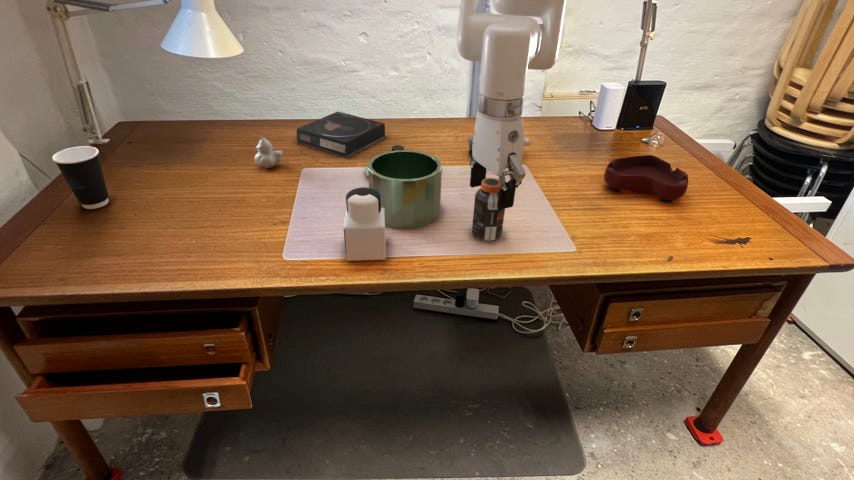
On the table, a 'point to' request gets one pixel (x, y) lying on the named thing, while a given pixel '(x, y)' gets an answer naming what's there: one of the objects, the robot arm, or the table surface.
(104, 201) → the dixie cup
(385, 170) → the tin
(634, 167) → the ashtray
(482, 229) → the pill bottle
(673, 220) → the table surface
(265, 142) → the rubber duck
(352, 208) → the medicine bottle
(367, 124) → the portable cd player
